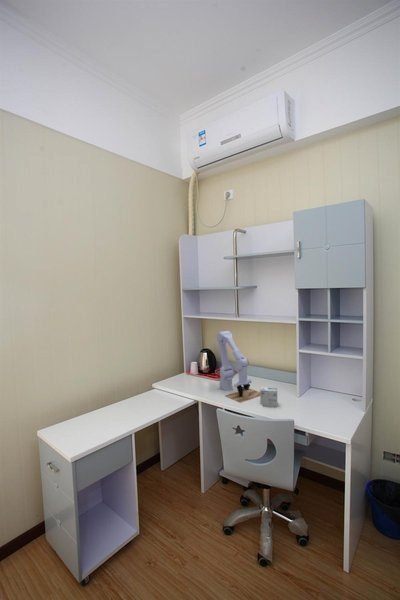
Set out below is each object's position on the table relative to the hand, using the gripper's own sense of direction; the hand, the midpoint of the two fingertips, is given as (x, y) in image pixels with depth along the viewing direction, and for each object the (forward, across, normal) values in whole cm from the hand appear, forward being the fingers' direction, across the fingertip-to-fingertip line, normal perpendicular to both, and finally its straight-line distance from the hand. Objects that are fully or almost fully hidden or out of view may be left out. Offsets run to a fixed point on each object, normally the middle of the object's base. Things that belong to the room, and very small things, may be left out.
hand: (243, 394), depth 211 cm
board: (+2, +2, 0) cm, 2 cm away
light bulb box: (+2, +4, -20) cm, 20 cm away
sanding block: (0, 0, 0) cm, 0 cm away
